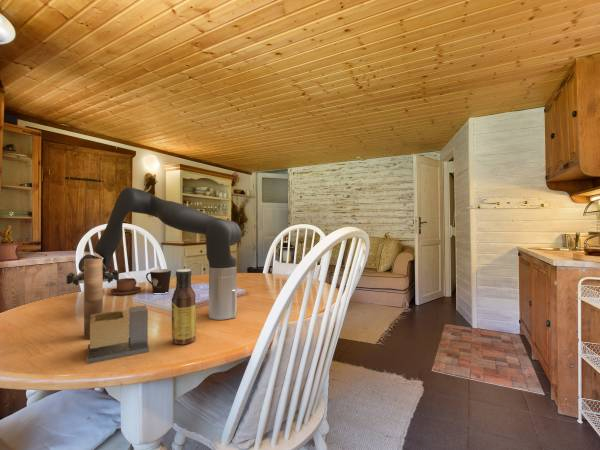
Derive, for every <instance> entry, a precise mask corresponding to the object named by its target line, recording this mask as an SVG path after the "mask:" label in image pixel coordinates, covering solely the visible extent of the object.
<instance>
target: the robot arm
mask: <svg viewBox="0 0 600 450" xmlns="http://www.w3.org/2000/svg"><path fill="white" fill-rule="evenodd" d="M129 213H134V214H135V213H136V214H144V215H148V216H152V217H155V218H157V219H158V220H160V221H161V223H162V224H165V225H166V226H168V227H169V228H170V227H171V228H173V229H176V230H179V231H182V232H187V233H192V234H199V235H200V234H201V235H205V244H206V245H205V248H206V251H205V252H206V259H207V261H208V318H210V319H211V320H219V321H221V320H228V319H235V318H236V316H237V312H238V311H237V304H238V303H237V301H238V300H237V298H238V295H237V293H238V288H237V258H236V257H235V256H233V255H232V253H231V246H234V245H236V244H238V243H239V242H240V240H241V239H242V229H241V227H240V226H239V224H238V223H236V222H235V221H233V220H230V219H223V218H220V217H216V216H212V215H210V214H206V213H205V212H203V211H201V210H198V209H195V208H192V207H191V206H188V205H185V204H181V203H179V202H177V201H176V202H175V201H172V200H165V199H162V198H160V197H158V196H155V195H154V194H151V193H150V192H148V191H146V190H142V189H138V188H135V187H125V188H123V189H122V190H121V191H120V192H119V194H118V196H117V198H116V200H115V203H114V206H113V208H112V211H111V213H110V216H109V219H108V222H107V224H106V227H105V228H104V230H103V232H102V234H101V235H100V237H99V239H98V241H97V243H95V245H94V248H93V251H94V252H95V254H97V255H99V256H100V257H99V256H96V255H94V254H86V255H83V256H82V257H81V258H80V259H79V262H78V266H77V267H78V270H79V271H80V272H78V274H75V273H74V272H69V273H68V274H67V275H66V285H67V284H68V285H70V284H73V285H75V286H79V284H84V260H85V259H93V258H101V259H103V283H105V282H107V283H108V284H109V283H111V282H113V281H117V280H119V279H120V275H119V274H120V272H119V271H118V270H117V269H114V270H112V271H111V272H109V270H110V266H111V264H112V263H111V262H112V258H113V255H114V253H115V252H116V250H117V248H118V247H119V246H120V243H121V242H122V239H123V235H124V234H123V225H124V224H123V223H124V220H125V218H126V217H127V215H128V214H129Z"/></svg>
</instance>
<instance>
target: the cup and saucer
mask: <svg viewBox="0 0 600 450" xmlns="http://www.w3.org/2000/svg"><path fill="white" fill-rule="evenodd" d="M137 283H138V282H137V279H136V278H133V277H132V278H130V277H126V278H119V280H116V287H115V288H112V289H110V291H109V292H110V293H111V294H112V295H117V296H126V295H133V294H136V293H138V292H140V291H141V290H142V287H140V286H136V285H137Z"/></svg>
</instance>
